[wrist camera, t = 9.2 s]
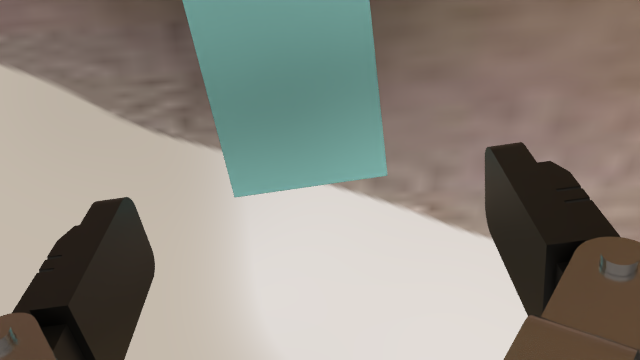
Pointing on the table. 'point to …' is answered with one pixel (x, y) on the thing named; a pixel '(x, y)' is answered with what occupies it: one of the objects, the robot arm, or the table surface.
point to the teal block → (291, 90)
